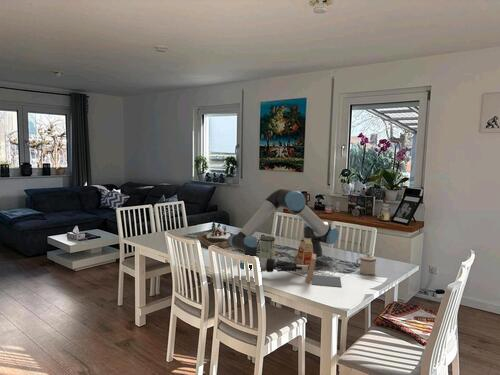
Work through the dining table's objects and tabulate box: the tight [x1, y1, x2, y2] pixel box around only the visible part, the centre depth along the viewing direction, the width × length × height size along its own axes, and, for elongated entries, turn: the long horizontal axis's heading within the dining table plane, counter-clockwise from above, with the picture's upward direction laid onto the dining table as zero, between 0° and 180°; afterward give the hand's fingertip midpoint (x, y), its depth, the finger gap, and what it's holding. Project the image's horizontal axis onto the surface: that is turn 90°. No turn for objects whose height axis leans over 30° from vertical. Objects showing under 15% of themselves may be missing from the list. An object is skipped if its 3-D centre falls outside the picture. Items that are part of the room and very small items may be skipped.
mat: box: [311, 274, 342, 288], centre depth 211 cm, size 16×15×1 cm
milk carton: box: [295, 236, 313, 272], centre depth 232 cm, size 9×9×20 cm
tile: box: [305, 253, 317, 284], centre depth 212 cm, size 3×10×14 cm, turn 169°
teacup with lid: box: [356, 253, 377, 275], centre depth 228 cm, size 12×9×12 cm
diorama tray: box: [196, 231, 235, 249], centre depth 291 cm, size 28×28×4 cm
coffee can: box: [259, 235, 276, 260], centre depth 251 cm, size 10×10×14 cm
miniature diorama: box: [205, 220, 231, 243], centre depth 290 cm, size 20×20×17 cm
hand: (307, 268), depth 212 cm, fingers closed
